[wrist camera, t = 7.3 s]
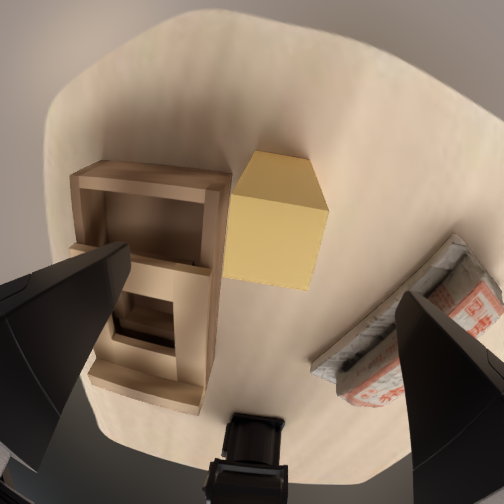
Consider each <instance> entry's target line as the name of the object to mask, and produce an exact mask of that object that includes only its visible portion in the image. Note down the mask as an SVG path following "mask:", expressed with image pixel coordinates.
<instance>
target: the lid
mask: <svg viewBox="0 0 504 504" xmlns="http://www.w3.org/2000/svg"><path fill="white" fill-rule="evenodd" d="M96 248H98V247H93V246H88V245H83V244H78V243H74V244H73V245H72V246H71V247H70V248H69V252H70V257H71V258H72V257H74V256H77V255H80V254H82V253H85V252H88V251H91V250H93V249H96ZM130 255H131V271H130V274H129V276H128V278H127V280H126V283H125V285H124V287H123V291H127V292H131V293H135V294H140V295H144V296H149V297H153V298H158V299H162V300H167V301H171V302H173V312H174V335H175V349H173V348H169V347H165V346H161V345H156V344H153V343H149V342H145V341H141V340H137V339H134V338H130V337H126V336H123V335H119V334H116V333H115V329H114V324H113V319H112V315H110V317H109V319H108V321H107V323H106V325H105V326H104V328H103V330H102V332H101V334H100V336H99V338H98V339H97V341H96V343H95V345H94V347H93V348H94V351H95V354H96V357H97V358H96V360H95V362H94V363H93V365H92V367H91V368H90V370H89V372H88V377H89V379H90V381H91V384H92V385H95V386H98V387H100V388H103V389H106V390H109V391H112V392H114V393H117V394H120V395H123V396H126V397H130V398H133V399H136V400H139V401H143V402H146V403H149V404H153V405H157V406H160V407H164V408H168V409H172V410H176V411H180V412H184V413H188V414H193V415H197V416H199V413H200V409H201V405H202V402H203V398H204V395H205V389H206V365H207V345H208V327H209V311H210V296H211V282H212V269H208V268H202V267H197V266H191V265H186V264H180V263H175V262H169V261H164V260H159V259H154V258H148V257H143V256H138V255H133V254H130Z"/></svg>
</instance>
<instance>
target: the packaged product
mask: <svg viewBox="0 0 504 504" xmlns="http://www.w3.org/2000/svg"><path fill="white" fill-rule="evenodd" d="M407 290H410V291H416V292H418V293H420V294H421V295H422V296H423V297H425V298H426V299H427V300H429V301H430V302H431V303H432V304H434V305H435V306H436V307H438V308H439V309H440V310H441V311H443V312H444V313H445V314H446V315H448V316H449V317H450V318H451V319H453V320H454V321H455V322H456V323H457V324H459V325H460V326H461V327H462V328H464V329H465V330H466V331H467V332H468V333H470V334H471V335H472V336H473V337H474V338H475V339H477V338H478V337H479V336H480V335H482V334H483V333H484V332H485V331H486V329H488V328H489V327H490V326H491V325H492V324H494V323H495V322H496V321H497V320H498V319H499V318H500V316H501V315H502V314H503V313H504V303H503V301H502V291H501V289H500V288H499V287H498V285H497V284H496V282H495V281H494V279H493V278H492V277H491V276H490V275H489V274H488V272H487V271H486V270H485V268H484V267H483V266H482V264H481V263H480V262H479V260H478V259H477V258H476V257H475V255H474V254H473V253H472V251H471V250H470V249H469V247H468V246H467V245H466V244H465V242H464V241H463V240H462V238H461V237H460V236H458V235H456V234H452V235H451V236H450V238H449V239H448V240H447V241H446V242H445V243H444V244H443V245H442V246H441V247H440V249H439V250H438V251H437V252H436V253H435V254H434V255H433V256H432V257H431V258H430V259H429V260H428V261H427V262H426V263H425V264H424V265H423V266H422V267H421V268H420V269H419V270H418V271H417V272H416V273H415V274H413V275H412V276H411V277H410V278H409V279H408V280H407V281H406V282H405V283H404V284H402V285H401V286H400V287H399V288H398V289H397V290H396V291H395V292H394V293H393V294H392V295H391V296H390V297H389V298H387V299H386V300H385V301H384V302H383V303H382V304H381V305H380V306H378V307H377V308H376V309H375V310H374V311H373V312H371V313H370V314H369V315H368V316H367V317H366V318H365V319H363V320H362V321H361V322H360V323H359V324H358V325H356V326H355V327H354V328H353V329H352V330H350V331H349V332H348V333H347V334H346V335H345V336H344V337H342V338H341V339H340V340H339V341H338V342H337V343H335V344H334V345H333V346H332V347H331V348H330V349H328V350H327V351H326V352H325V353H324V354H322V355H321V356H320V357H319V358H317V359H316V360H315V361H314V362H313V363H312V364H311V369H310V373H311V374H313V375H315V376H317V377H319V378H322V379H325V380H327V381H329V382H332V383H335V384H336V393H337V396H340V397H341V398H342V399H344V400H346V401H347V402H348V403H350V404H351V405H353V406H357V407H361V406H364V407H373V408H374V407H382V406H384V405H386V404H388V403H390V402H391V401H393V400H395V399H397V398H398V397H400V396H401V395H403V394H404V393H405V391H404V384H403V378H402V372H401V366H400V361H399V355H398V345H397V334H396V324H395V310H396V308H397V306H398V304H399V302H400V300H401V298H402V296H403V294H404V292H405V291H407Z"/></svg>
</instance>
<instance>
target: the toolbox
mask: <svg viewBox="0 0 504 504" xmlns="http://www.w3.org/2000/svg"><path fill="white" fill-rule="evenodd" d="M231 180H232V173H224V172H217V171H209V170H202V169H193V168H185V167H176V166H166V165H156V164H145V163H133V162H120V161H105V160H101V161H98V162H96V163H94V164H92V165H90V166H88V167H85V168H83V169H81V170H79V171H77V172H75V173H73V174H71V175H70V189H71V200H72V210H73V219H74V227H75V234H76V241H77V243H78V244H83V245H88V246H93V247H98V248H99V247H102V246H105V245H107V244H110V243H113V242H116V241H120V242H125V243H128V244H129V246H130V254H133V255H138V256H143V257H148V258H154V259H159V260H164V261H169V262H175V263H180V264H186V265H191V266H197V267H202V268H208V269H212V282H211V296H210V311H209V327H208V345H207V365H206V388H207V384H208V380H209V377H210V373H211V369H212V365H213V361H214V354H215V341H216V329H217V317H218V306H219V295H220V284H221V273H222V263H223V253H224V243H225V234H226V224H227V215H228V206H229V197H230V189H231ZM111 315H112V319H113V324H114V329H115V333H116V334H119V335H123V336H126V337H130V338H134V339H137V340H141V341H145V342H149V343H153V344H156V345H161V346H165V347H169V348H173V349H175V335H174V312H173V302H171V301H167V300H162V299H158V298H153V297H149V296H144V295H140V294H135V293H131V292H127V291H123V290H122V292H121V294H120V297H119V299H118V301H117V304H116V306H115V308H114V310H113V312H112V314H111ZM205 391H206V389H205Z"/></svg>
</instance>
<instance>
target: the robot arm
mask: <svg viewBox="0 0 504 504" xmlns="http://www.w3.org/2000/svg"><path fill="white" fill-rule="evenodd" d="M130 271H131V255H130V246H129V244H128V243H125V242H120V241H116V242H113V243H110V244H107V245H105V246H102V247H99V248H96V249H93V250H91V251H88V252H85V253H82V254H80V255H77V256H74V257H72V258H69V259H66V260H64V261H61V262H58V263H56V264H53V265H51V266H48V267H46V268H43V269H40V270H38V271H35V272H33V273H32V274H28V275H25V276H23V277H20V278H18V279H15V280H12V281H10V282H7V283H4V284H2V285H0V504H35V503H33V502H32V501H30V500H29V499H27V498H25V497H24V496H22V495H21V494H19V493H18V492H17V491H15V488H14V485H13V482H12V479H11V476H10V472H9V469H8V467H7V466H6V465H7V463H8V460H9V458H10V456H12V457H13V458H15V459H16V460H18V461H19V462H21V463H22V464H24V465H25V466H27V467H28V468H30V469H32V470H33V471H35V472H37V473H38V471H39V469H40V467H41V464H42V461H43V459H44V456H45V453H46V451H47V448H48V446H49V443H50V441H51V438H52V436H53V433H54V431H55V428H56V426H57V424H58V421H59V419H60V416H61V414H62V412H63V409H64V407H65V405H66V403H67V401H68V398H69V396H70V394H71V392H72V390H73V388H74V385H75V383H76V381H77V379H78V377H79V375H80V373H81V371H82V369H83V367H84V365H85V363H86V361H87V359H88V357H89V355H90V353H91V351H92V349H93V347H94V345H95V343H96V341H97V339H98V338H99V336H100V334H101V332H102V330H103V328H104V326H105V325H106V323H107V321H108V319H109V317H110V315H111V314H112V312H113V310H114V308H115V306H116V304H117V301H118V299H119V297H120V294H121V292H122V290H123V287H124V285H125V283H126V280H127V278H128V276H129V274H130ZM395 324H396V334H397V345H398V355H399V361H400V366H401V372H402V378H403V384H404V391H405V397H406V405H407V412H408V420H409V429H410V439H411V451H412V465H413V493H414V504H504V362H502V361H501V360H500V359H499V358H498V357H497V356H495V355H494V354H493V353H492V352H491V351H490V350H488V349H486V347H485V346H484V345H483V344H481V343H480V342H479V341H478V340H477V339H475V338H474V337H473V336H472V335H471V334H470V333H468V332H467V331H466V330H465V329H464V328H462V327H461V326H460V325H459V324H457V323H456V322H455V321H454V320H453V319H451V318H450V317H449V316H448V315H446V314H445V313H444V312H443V311H441V310H440V309H439V308H438V307H436V306H435V305H434V304H432V303H431V302H430V301H429V300H427V299H426V298H425V297H423V296H422V295H421V294H420V293H418V292H416V291H410V290H407V291H405V292H404V294H403V296H402V298H401V300H400V302H399V304H398V306H397V308H396V310H395ZM284 425H285V421H284V420H279V419H271V418H263V417H255V416H249V415H242V414H233V415H232V420H231V423H228V424H227V427H226V432H225V437H224V443H223V448H222V454H221V456H222V457H225V458H226V459H225V460H221V459H219V458H215V460H214V462H210V466H209V471H208V474H207V477H206V480H205V482H204V485H203V488H202V491H203V493H204V494H205V497H206V503H207V504H287V498H288V465H279V460H280V445H281V431H282V429H283V427H284Z"/></svg>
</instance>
